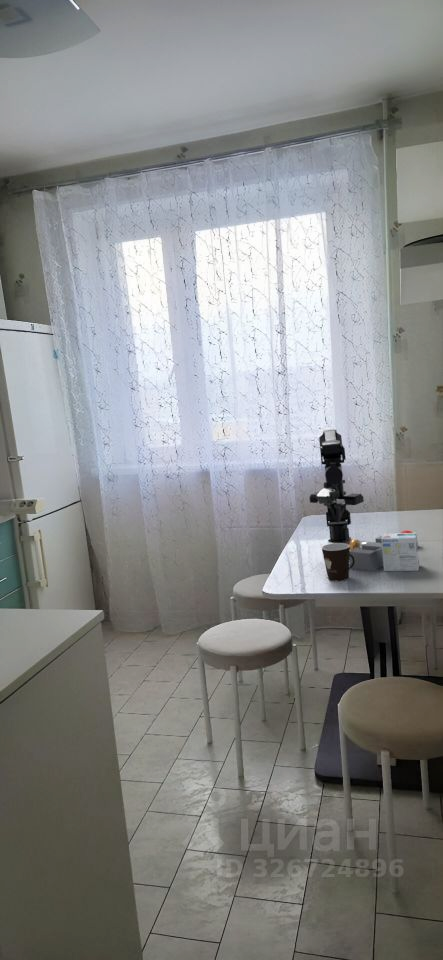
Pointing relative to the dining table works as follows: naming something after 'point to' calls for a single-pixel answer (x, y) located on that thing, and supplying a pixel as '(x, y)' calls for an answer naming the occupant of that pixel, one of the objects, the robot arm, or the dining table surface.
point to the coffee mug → (337, 561)
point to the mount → (368, 556)
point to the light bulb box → (400, 552)
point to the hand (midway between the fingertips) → (338, 522)
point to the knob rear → (356, 544)
